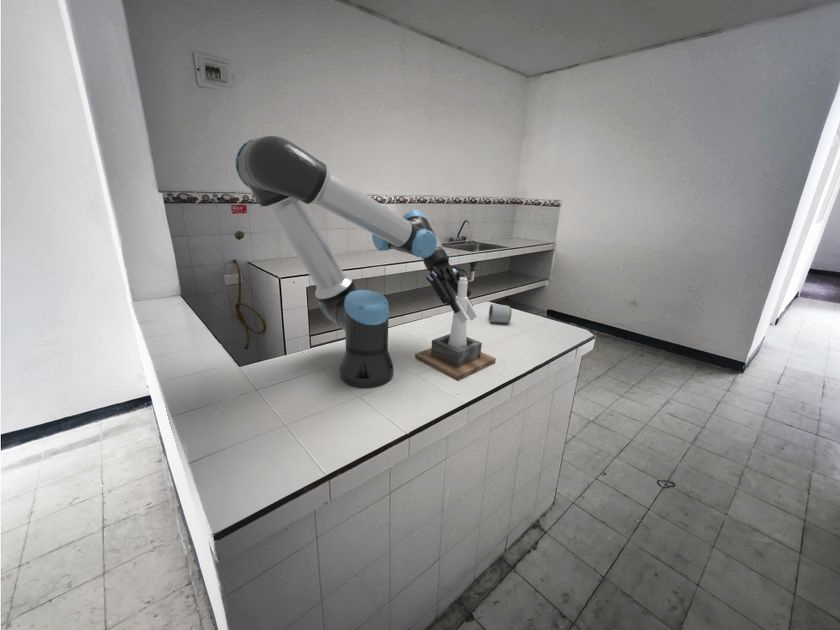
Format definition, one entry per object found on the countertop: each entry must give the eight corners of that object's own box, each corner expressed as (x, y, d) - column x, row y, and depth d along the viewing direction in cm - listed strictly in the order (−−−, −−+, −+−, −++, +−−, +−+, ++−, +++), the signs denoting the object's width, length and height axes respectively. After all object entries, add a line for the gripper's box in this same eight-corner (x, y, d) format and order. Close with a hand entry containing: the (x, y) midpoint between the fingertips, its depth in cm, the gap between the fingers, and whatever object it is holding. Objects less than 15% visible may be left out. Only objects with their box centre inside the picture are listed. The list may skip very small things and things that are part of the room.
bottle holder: (458, 380, 104) (460, 359, 102) (415, 358, 116) (416, 339, 114) (495, 362, 116) (497, 343, 114) (452, 343, 128) (454, 326, 126)
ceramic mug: (510, 325, 148) (513, 307, 146) (490, 324, 148) (492, 306, 146) (505, 317, 158) (507, 300, 156) (486, 316, 158) (488, 299, 156)
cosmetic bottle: (443, 344, 116) (448, 276, 108) (458, 341, 119) (464, 274, 112) (455, 352, 111) (462, 281, 104) (470, 348, 114) (478, 279, 107)
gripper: (444, 259, 123) (479, 319, 117) (407, 264, 112) (443, 331, 106) (457, 245, 117) (494, 308, 112) (420, 250, 106) (459, 319, 101)
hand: (469, 319), depth 109 cm, fingers closed on cosmetic bottle, 4 cm apart
